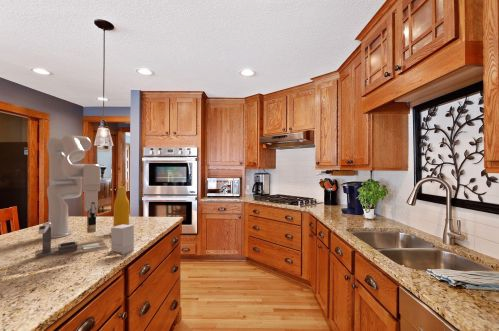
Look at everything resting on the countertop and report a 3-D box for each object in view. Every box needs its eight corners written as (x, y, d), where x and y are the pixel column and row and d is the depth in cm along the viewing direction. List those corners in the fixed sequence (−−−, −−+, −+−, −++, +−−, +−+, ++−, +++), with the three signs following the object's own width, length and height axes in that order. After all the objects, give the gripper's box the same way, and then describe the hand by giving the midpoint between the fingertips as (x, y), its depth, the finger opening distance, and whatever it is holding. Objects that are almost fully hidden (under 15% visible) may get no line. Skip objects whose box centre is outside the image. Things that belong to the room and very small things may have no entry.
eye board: (35, 252, 120) (35, 225, 120) (101, 241, 138) (102, 217, 138) (34, 265, 104) (34, 233, 104) (109, 251, 122) (109, 223, 122)
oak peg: (86, 231, 125) (86, 210, 125) (95, 230, 128) (95, 209, 128) (87, 233, 122) (87, 211, 123) (96, 232, 125) (96, 210, 125)
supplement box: (134, 250, 124) (134, 225, 124) (122, 255, 117) (122, 228, 117) (123, 248, 126) (123, 223, 127) (110, 253, 119) (110, 227, 120)
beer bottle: (129, 229, 167) (129, 186, 167) (129, 232, 158) (129, 187, 159) (113, 230, 163) (114, 186, 163) (112, 233, 154) (113, 187, 155)
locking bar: (43, 226, 115) (43, 220, 115) (51, 225, 117) (51, 219, 117) (36, 234, 102) (36, 227, 102) (46, 233, 104) (46, 226, 104)
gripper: (80, 187, 129) (80, 222, 129) (84, 189, 117) (84, 228, 116) (97, 187, 134) (97, 220, 134) (103, 188, 121) (102, 226, 121)
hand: (91, 224), depth 125 cm, fingers closed on oak peg, 3 cm apart
